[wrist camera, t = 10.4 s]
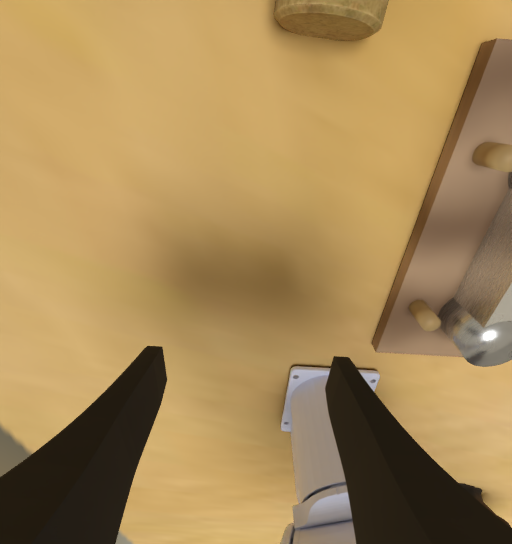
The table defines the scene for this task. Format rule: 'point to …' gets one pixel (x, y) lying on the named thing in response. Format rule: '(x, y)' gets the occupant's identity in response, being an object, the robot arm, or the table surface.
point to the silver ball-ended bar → (485, 297)
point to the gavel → (331, 17)
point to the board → (454, 210)
